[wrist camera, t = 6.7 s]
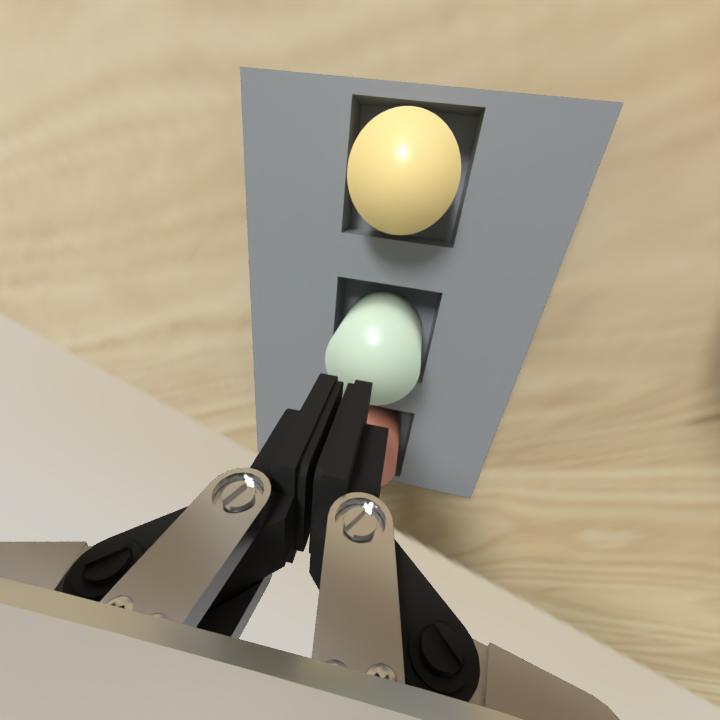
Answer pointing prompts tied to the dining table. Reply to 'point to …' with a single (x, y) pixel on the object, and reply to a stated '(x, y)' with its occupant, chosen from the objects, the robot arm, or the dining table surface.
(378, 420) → the button brick
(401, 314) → the button sage
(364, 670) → the robot arm
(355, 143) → the button ochre
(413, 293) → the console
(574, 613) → the dining table surface
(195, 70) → the dining table surface
